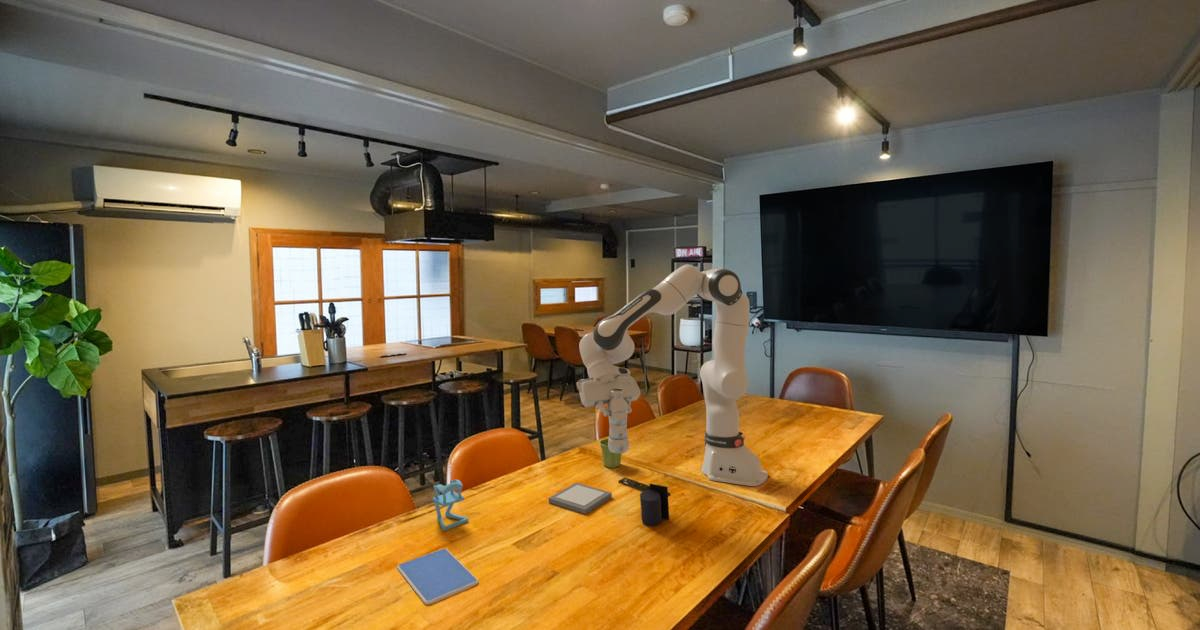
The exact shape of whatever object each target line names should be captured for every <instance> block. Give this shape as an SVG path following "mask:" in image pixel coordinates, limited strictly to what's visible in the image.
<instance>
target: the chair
mask: <svg viewBox="0 0 1200 630" xmlns="http://www.w3.org/2000/svg"><path fill="white" fill-rule="evenodd" d="M449 482H450V483H449V484H446V485H443V484H441V483H440V484H436V485H433V490H434V493H435V495H434V496H433V497H432V502H433V504H434V507H435V512H436V515H437V517H436V519H437V520H438V523H439V525H440V528H441V531H447V530H451V529H453V528H455V527H458V526H460V525H463V524H465V523H468V522H469V518H468V517H466V516H464V515H463V516H462V515H459V514H455V513H452V512H451V511H452V508H453V506H454V504H455V503H456V504H457V503H460V502H462V501H465V496H463V495H462V491H463V490H462V489H463V487H464V486H463V483H462V481H460V479H452V480H450V481H449ZM455 490H458V491H457V492H456V491H455ZM439 492H440V493H441V494H439ZM440 507H442V508H446V507H447V508H446V511H445V515H444V516H445V517H447V518H449V519H455V520H458V521H455V522H452V523H450V524H447V525H445V523H444V519H443V517H442V514H441V513H442V512H441V509H440Z"/></svg>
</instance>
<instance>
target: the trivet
mask: <svg viewBox="0 0 1200 630" xmlns="http://www.w3.org/2000/svg"><path fill="white" fill-rule="evenodd" d="M612 496H613V495H612V492H611V491H607V490H603V489H599V488H596V487H593V486H589V485H586V484H584V483H583V484H582V483H578V482H575V483H572V484H571V485H569V486H568V487H566V488H564V489H563V490H560V491H558V492H557V493H555V494H553V495H552V496H549V497H548V503H549V504H551V505H554V506H558V507H561V508H564V509H567V510H571V511H574V512H577V513H580V514H583V515H587V514H588V513H590V512H591V511H593V510H594V509H596V508H598V507H599V506H600V505H603V503H605V502H606V501H609V500H610V499H611V498H612Z"/></svg>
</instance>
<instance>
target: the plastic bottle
mask: <svg viewBox="0 0 1200 630" xmlns="http://www.w3.org/2000/svg"><path fill="white" fill-rule="evenodd" d="M622 396H623V390H622V389H612V390H611V397H612V398H611V399H610V401H609V403H608V404H606V409H609V411H610V415H609V416H607V417H608V423H609V429H608V431H609V432H608V433H609V434H608V438H609V440H608V448H609V450H610V452H612V453H616V454H620V453H622V454H625V453H626V452H628V450H629V448H630V440H629V436H628V428H627V427H628V425H627V424H628V423H627V422H628V414H629V413H628V404H627V402H626V401H625V400H624V398H623V397H622Z"/></svg>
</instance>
